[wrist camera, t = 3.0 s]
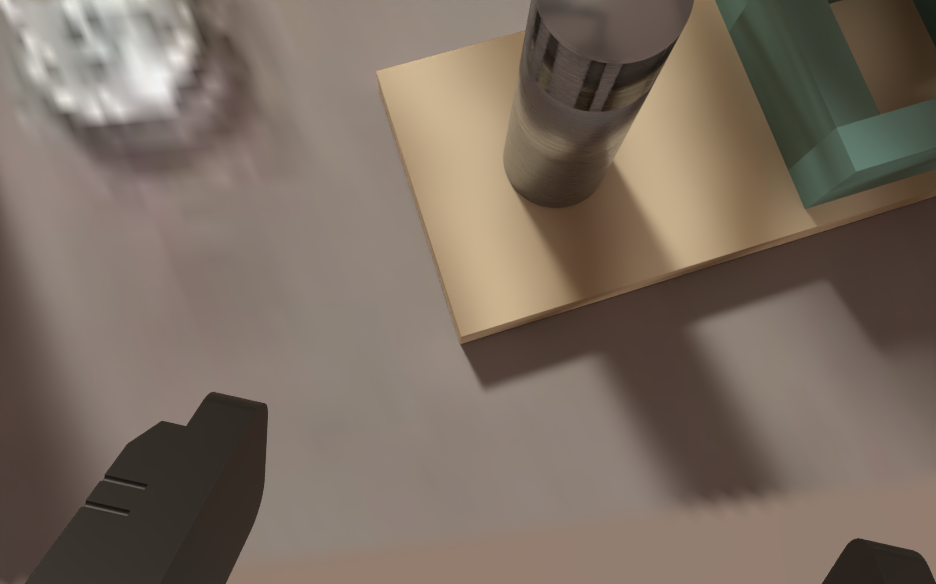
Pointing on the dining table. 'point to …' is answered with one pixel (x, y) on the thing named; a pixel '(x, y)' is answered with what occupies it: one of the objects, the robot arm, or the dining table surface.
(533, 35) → the dark grey metallic cylinder
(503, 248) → the board
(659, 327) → the dining table surface
